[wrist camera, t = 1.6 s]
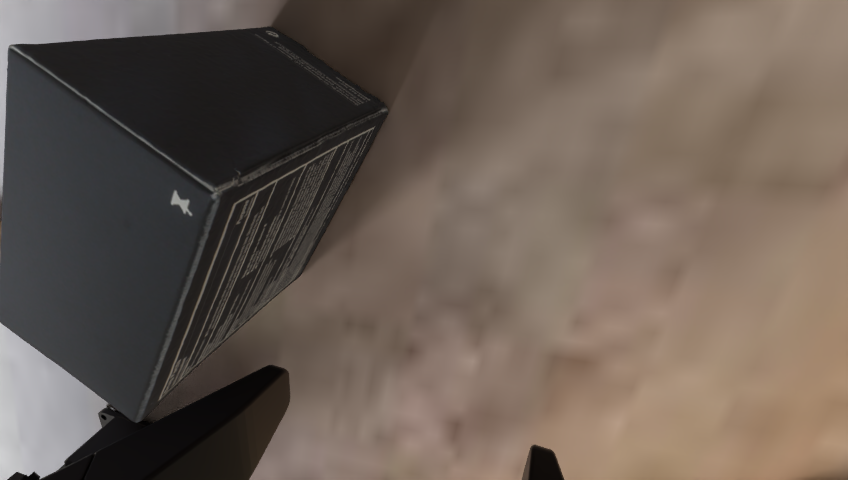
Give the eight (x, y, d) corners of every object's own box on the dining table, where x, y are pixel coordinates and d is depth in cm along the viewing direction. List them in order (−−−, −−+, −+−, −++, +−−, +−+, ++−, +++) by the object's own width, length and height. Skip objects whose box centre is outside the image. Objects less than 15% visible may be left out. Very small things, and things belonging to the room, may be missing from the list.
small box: (263, 14, 20) (-14, 24, 11) (395, 106, 20) (231, 193, 11) (199, 207, 25) (-20, 322, 16) (302, 279, 25) (141, 434, 16)
